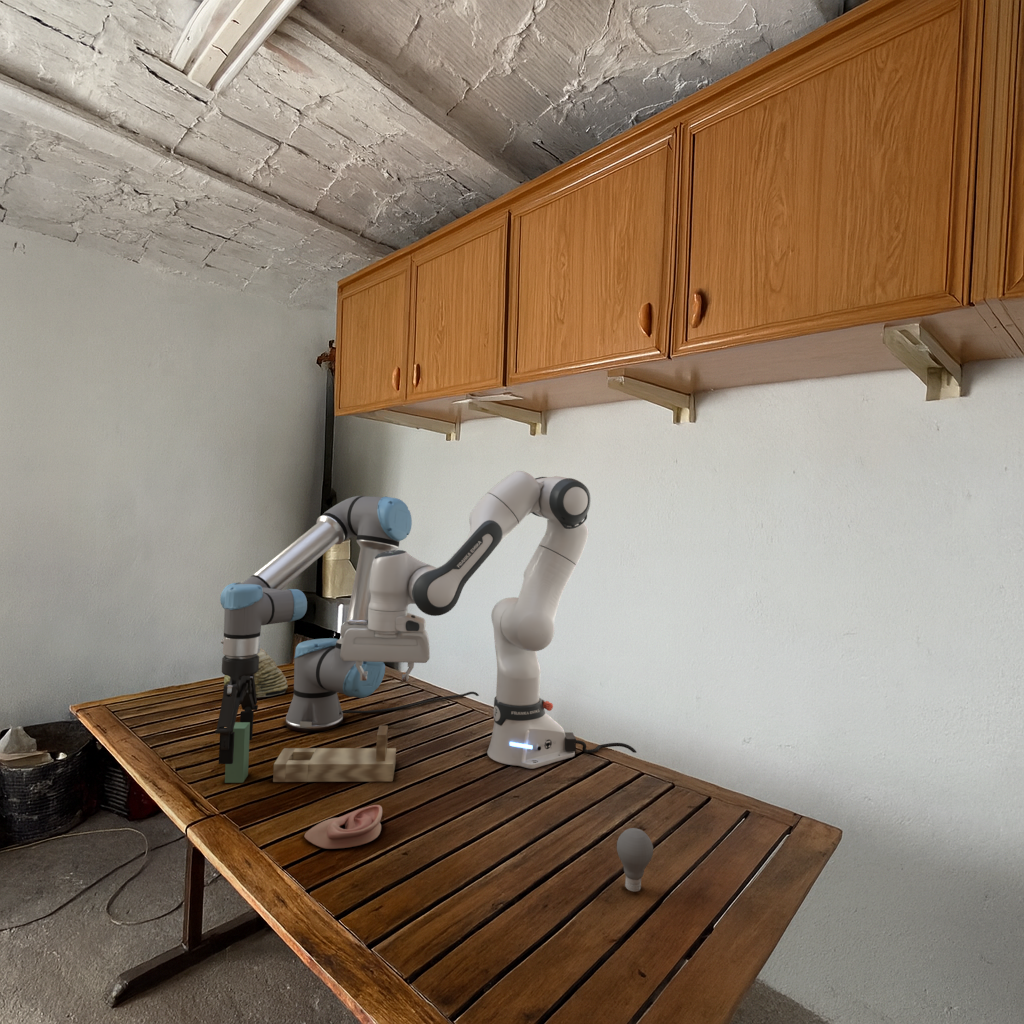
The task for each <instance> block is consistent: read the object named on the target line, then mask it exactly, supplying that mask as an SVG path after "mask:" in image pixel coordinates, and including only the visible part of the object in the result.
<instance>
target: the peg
mask: <svg viewBox="0 0 1024 1024" xmlns="http://www.w3.org/2000/svg"><path fill="white" fill-rule="evenodd" d="M233 732H235V734H234V754H233V763H232V764H224V765H225V766H224V767H225V769H224V772H225V773H224V783H225V784H236V783H237V784H241V783H242V784H243V783H244V782H245V780H246V779H247V777H248V776H249V764H250V763H249V760H250V740H249V736H250V722H240V721H239V722H238V721H235V725H234V729H233Z"/></svg>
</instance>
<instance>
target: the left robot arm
mask: <svg viewBox="0 0 1024 1024" xmlns="http://www.w3.org/2000/svg"><path fill="white" fill-rule="evenodd" d="M412 525H413V520H412V514H411V510H410V509H409V507H408V505H407V503H406V502H404V501H403V500H402V499H400V498H397V497H392V496H391V497H390V496H366V495H356V496H352V497H351V496H350V497H348V498H346V499H344V500H342V501H340V502H338V503H336V504H335V505H333V506H331V507H330V508H329V509H328V510H326V511H324V513H322V514H321V515H320V516H318V517H317V519H316V523H315V524H314V525H313V526H311V528H309V529H308V530H306V532H304V533H303V534H302V535H301V536H299V537H298V538H297V539H295V540H294V541H293V542H292V543H291V544H289V545H288V546H286V547H285V548H284V549H283V550H282V551H280V552H279V553H278V554H277V555H276V556H274V557H273V558H271V559H270V560H269V561H268V562H267V563H266V564H264V565H263V566H261V567H260V568H259V569H258V570H257V571H255V572H254V573H253V574H252V575H250V576H249V577H248V578H247V579H245V580H244V581H243V582H239V581H238V582H232V583H230V584H227V585H226V586H225V587H224V588H223V590H222V591H221V594H220V599H219V601H220V605H221V608H222V609H223V610H224V611H223V613H224V616H223V639H221V640H220V644H223V645H222V654H223V657H222V659H221V673H222V675H224V676H225V675H228V676H229V677H230V683H228V685H227V684H225V685H224V684H223V693H222V700H221V705H220V708H219V709H220V710H219V715H218V721H217V726H216V729H214V731H215V732H214V733H215V734H216V735H219V744H218V765H226V764H232V763H233V754H234V734H235V732H233V729H234V725H235V722H237V721H236V720H237V717H238V712H239V709H240V706H241V709H242V710H241V711H240V714H239V715H240V716H239V722H250V736H249V741H252V740H253V734H254V733H253V732H254V714H255V713H254V711H258V709H259V705H257V704H258V699H257V697H256V688H255V680H254V674H255V673H257V672H258V670H259V656H258V655H257V654H258V653H259V652H260V648H261V631H262V626H269V625H273V624H275V625H276V624H281V623H291V622H294V621H297V620H300V619H302V618H303V617H304V616H305V614H306V613H307V610H308V601H307V597H306V594H305V593H304V592H303V591H302V590H300V589H297V588H287V589H284V588H285V587H286V586H288V585H289V584H290V583H292V581H294V580H295V579H296V578H297V577H298V576H299V575H301V574H302V573H303V572H304V571H305V570H307V569H308V568H309V567H310V566H311V565H312V564H314V563H315V562H316V561H317V560H318V559H319V558H321V557H322V556H323V555H324V554H325V553H327V552H328V551H329V550H330V549H332V547H334V546H335V545H341V544H343V543H344V542H345V541H346V540H348V539H350V538H354V537H355V538H356V539H355V540H356V543H357V545H358V546H359V548H360V549H359V554H358V559H357V565H356V569H355V575H354V580H353V585H352V590H351V596H350V600H349V606H348V611H347V617H346V621H348V620H368V608H369V603H370V600H371V593H370V575H371V568H372V563H373V560H374V558H375V557H376V556H377V555H378V554H380V553H382V552H386V551H392V550H399V547H400V543H401V541H403V540H405V539H406V538H407V537H408V536H409V535H410V533H411V531H412ZM346 624H348V623H346ZM367 627H368V625H367ZM342 640H343V638H342V637H340V638H339V639H338V638H335V637H333V638H332V637H329V638H315V639H308V640H304V641H302V642H299V643H298V644H297V645H296V646H295V652H294V653H295V654H294V656H293V659H294V661H293V662H294V663H293V665H294V667H293V695H292V696H293V697H292V699H291V702H290V704H289V708H288V711H287V713H286V715H285V726H286V728H287V729H289V730H291V731H294V732H295V731H296V732H301V733H316V732H325V731H329V730H332V729H335V728H337V727H339V726H340V725H342V723H343V722H344V714H376V713H383V712H390V711H395V710H402V709H406V708H411V707H414V706H419V705H423V704H427V703H433V702H437V701H442V700H443V701H444V700H447V699H455V698H462V697H466V696H469V695H475V696H476V697H479V696H480V695H479V693H478V692H476V691H468V692H465V693H461V694H453V695H446V696H440V697H434V698H430V699H426V700H421V701H417V702H414V703H413V702H412V703H409V704H404V705H400V706H394V707H388V708H380V709H371V710H352V709H351V710H343V709H342V706H341V702H340V699H339V695H338V694H342V695H345V696H347V697H348V698H352V697H353V698H357V699H358V698H359V699H362V698H367V697H370V696H371V695H372V694H373V693H374V692H375V691H376V690H378V688H380V686H381V684H382V682H383V681H384V677H385V673H386V664H385V662H366V661H363V664H362V668H363V670H364V671H368V672H367V681H360V673H359V671H358V669H357V667H356V661H343V660H342V659H341V657H340V652H341V645H342Z"/></svg>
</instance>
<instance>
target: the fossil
mask: <svg viewBox="0 0 1024 1024" xmlns="http://www.w3.org/2000/svg"><path fill="white" fill-rule="evenodd" d="M257 655H258V656H259V670H258V672H257V673H255V674H254V680H255V688H256V697H257V698H258V699H259V698H266V697H273V696H274V697H275V696H277V695H282V694H285V693H286V691H287V690H288V687H289V685H288V680H287V678H286V676H285V674H284V673H283V671H282V669H280V668H279V667H278V666H277V663H276V661H274V659H273V658H272V657H271V656H270V655H269V654H268V653H267V651H265V649H263V648H261V647H260V652H259V653H258V654H257ZM223 678H224V679H223V686H224V685H225V684H227V685H228V683H230V677H229V676H228V675H224V677H223Z"/></svg>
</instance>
